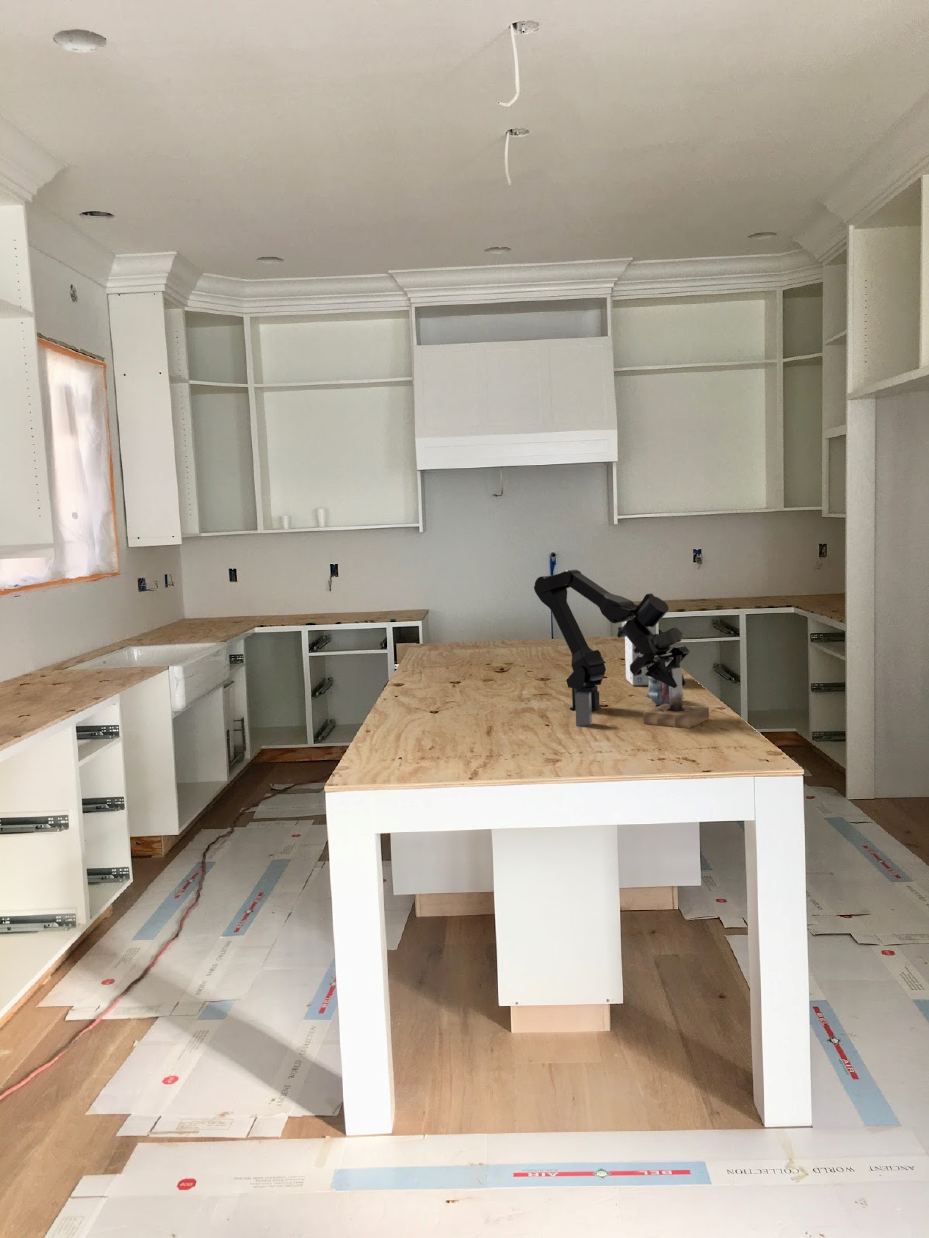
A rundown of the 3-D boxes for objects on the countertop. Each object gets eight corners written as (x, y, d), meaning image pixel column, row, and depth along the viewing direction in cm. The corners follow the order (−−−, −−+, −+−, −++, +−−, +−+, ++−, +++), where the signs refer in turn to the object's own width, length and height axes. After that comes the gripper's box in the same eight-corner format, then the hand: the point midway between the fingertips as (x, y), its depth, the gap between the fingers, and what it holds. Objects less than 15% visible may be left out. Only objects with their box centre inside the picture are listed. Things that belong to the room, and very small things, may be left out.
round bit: (669, 712, 247) (668, 668, 245) (669, 710, 250) (669, 666, 249) (682, 712, 246) (681, 668, 245) (682, 710, 249) (682, 666, 248)
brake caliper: (689, 698, 265) (660, 663, 266) (656, 722, 268) (629, 687, 270) (693, 691, 275) (666, 657, 277) (662, 714, 279) (635, 680, 280)
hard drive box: (657, 685, 301) (656, 620, 299) (632, 686, 301) (630, 621, 299) (649, 677, 316) (647, 615, 314) (625, 678, 316) (623, 616, 315)
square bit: (576, 725, 248) (575, 694, 247) (578, 723, 251) (577, 691, 250) (589, 726, 247) (588, 694, 246) (592, 723, 250) (591, 692, 249)
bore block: (643, 723, 247) (643, 711, 247) (664, 715, 256) (664, 703, 256) (688, 728, 240) (688, 715, 239) (709, 719, 249) (708, 707, 249)
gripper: (638, 621, 242) (677, 670, 235) (682, 614, 255) (720, 660, 248) (613, 651, 249) (650, 699, 242) (657, 642, 261) (694, 688, 254)
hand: (680, 685), depth 246 cm, fingers closed on round bit, 3 cm apart
